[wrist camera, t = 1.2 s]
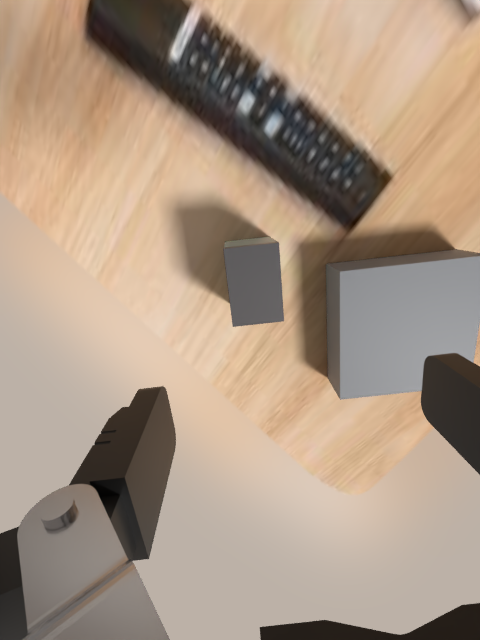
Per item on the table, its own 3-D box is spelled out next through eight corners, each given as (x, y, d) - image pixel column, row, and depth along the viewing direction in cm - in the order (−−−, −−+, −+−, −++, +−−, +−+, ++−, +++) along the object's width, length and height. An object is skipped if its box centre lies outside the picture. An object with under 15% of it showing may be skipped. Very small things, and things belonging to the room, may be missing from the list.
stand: (325, 263, 29) (339, 271, 25) (456, 249, 29) (489, 254, 25) (327, 377, 33) (340, 399, 29) (442, 365, 33) (469, 385, 29)
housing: (225, 241, 28) (223, 248, 22) (269, 236, 28) (278, 242, 22) (232, 305, 30) (232, 326, 24) (274, 300, 30) (284, 321, 24)
